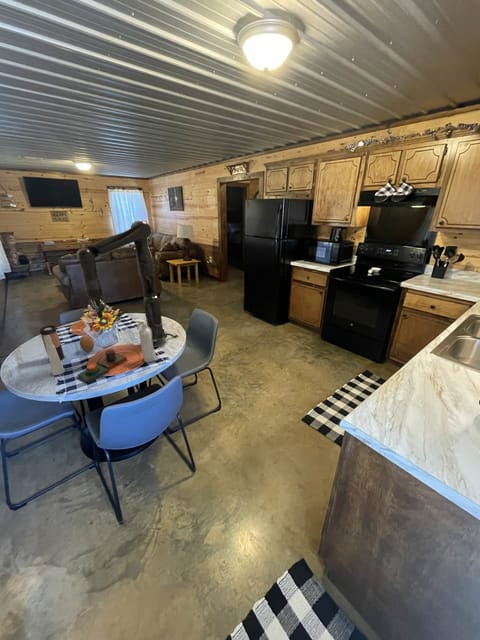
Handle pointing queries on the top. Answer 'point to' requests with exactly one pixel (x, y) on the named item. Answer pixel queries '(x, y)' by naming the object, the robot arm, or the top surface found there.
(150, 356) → the fire extinguisher
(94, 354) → the top surface
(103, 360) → the panel
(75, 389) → the top surface
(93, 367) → the button
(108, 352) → the knob
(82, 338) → the egg
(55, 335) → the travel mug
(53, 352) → the cosmetic bottle
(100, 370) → the housing
